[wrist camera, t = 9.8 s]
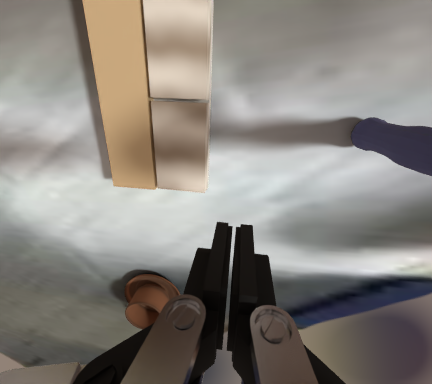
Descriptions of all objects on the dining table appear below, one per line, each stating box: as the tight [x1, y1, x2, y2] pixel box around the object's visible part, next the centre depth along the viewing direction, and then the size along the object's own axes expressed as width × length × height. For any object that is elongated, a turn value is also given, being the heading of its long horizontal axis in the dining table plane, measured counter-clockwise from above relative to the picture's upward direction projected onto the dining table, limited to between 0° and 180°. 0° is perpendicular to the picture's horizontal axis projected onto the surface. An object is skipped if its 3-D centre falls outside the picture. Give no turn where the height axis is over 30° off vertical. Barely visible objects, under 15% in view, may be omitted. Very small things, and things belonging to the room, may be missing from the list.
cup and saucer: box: [125, 274, 180, 329], centre depth 43 cm, size 12×12×6 cm
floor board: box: [83, 0, 214, 190], centre depth 28 cm, size 25×14×4 cm, turn 178°
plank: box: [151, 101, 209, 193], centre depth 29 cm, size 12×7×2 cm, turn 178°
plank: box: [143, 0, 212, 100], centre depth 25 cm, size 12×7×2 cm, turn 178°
